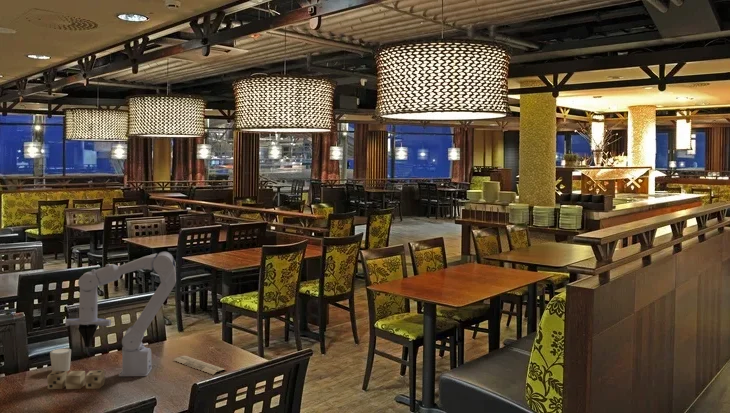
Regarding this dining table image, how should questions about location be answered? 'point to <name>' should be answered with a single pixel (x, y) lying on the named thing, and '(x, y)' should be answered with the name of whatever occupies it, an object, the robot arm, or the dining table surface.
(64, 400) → the dining table surface
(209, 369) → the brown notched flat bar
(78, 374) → the plain block
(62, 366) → the cream short cylinder
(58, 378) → the dotted block three
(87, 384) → the dotted block two
